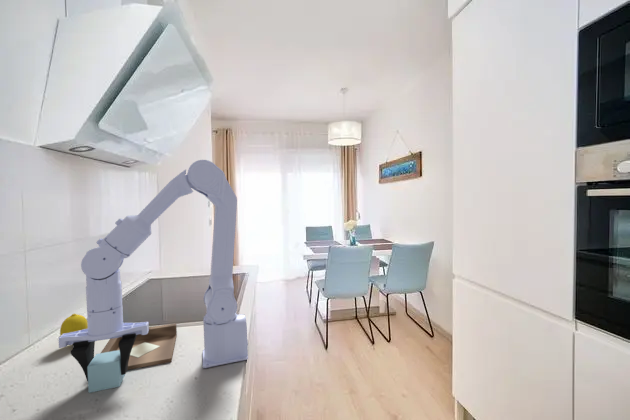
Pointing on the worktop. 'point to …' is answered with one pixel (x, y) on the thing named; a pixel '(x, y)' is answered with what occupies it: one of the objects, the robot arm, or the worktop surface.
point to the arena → (149, 346)
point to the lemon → (73, 324)
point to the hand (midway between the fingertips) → (108, 375)
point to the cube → (105, 371)
